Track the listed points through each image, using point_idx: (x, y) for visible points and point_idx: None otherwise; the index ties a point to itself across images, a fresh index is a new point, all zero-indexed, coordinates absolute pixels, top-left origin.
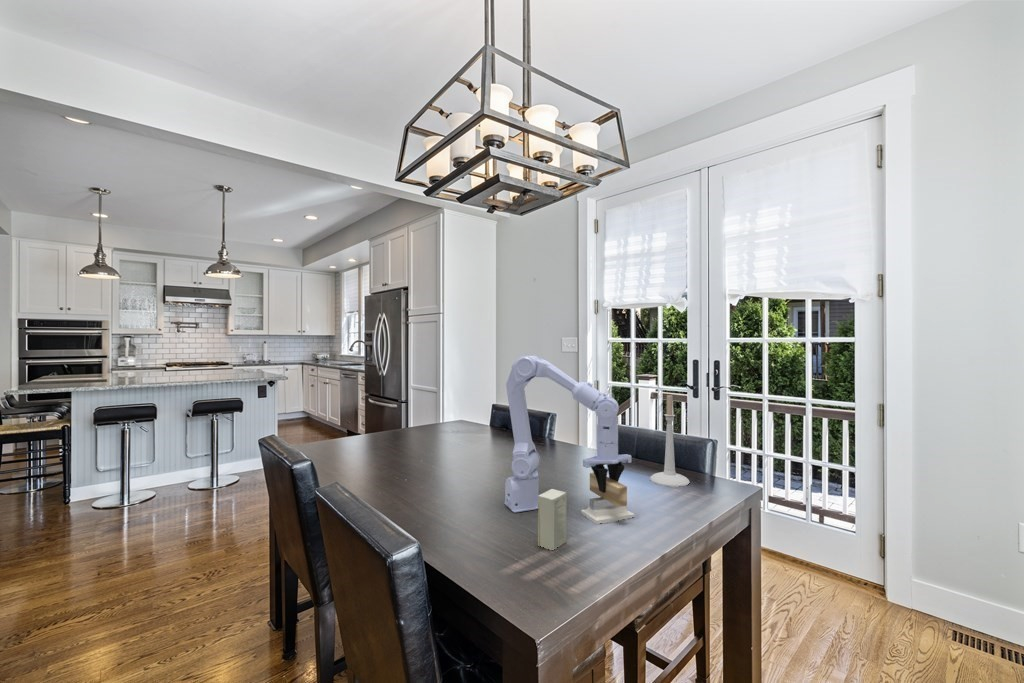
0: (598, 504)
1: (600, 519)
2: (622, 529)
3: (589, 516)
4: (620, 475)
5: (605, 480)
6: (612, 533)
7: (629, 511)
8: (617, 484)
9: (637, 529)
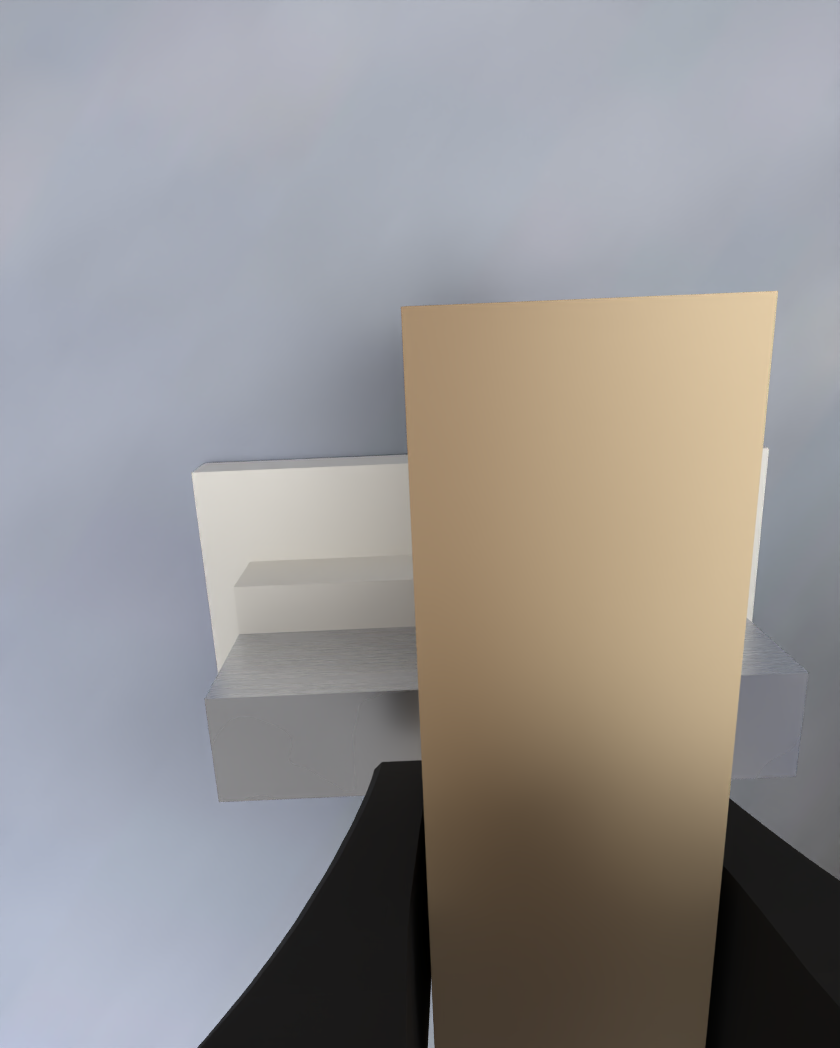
0: None
1: None
2: (542, 202)
3: (749, 603)
4: (221, 1019)
5: (780, 915)
6: (732, 135)
7: (207, 567)
8: (566, 604)
9: (360, 131)
